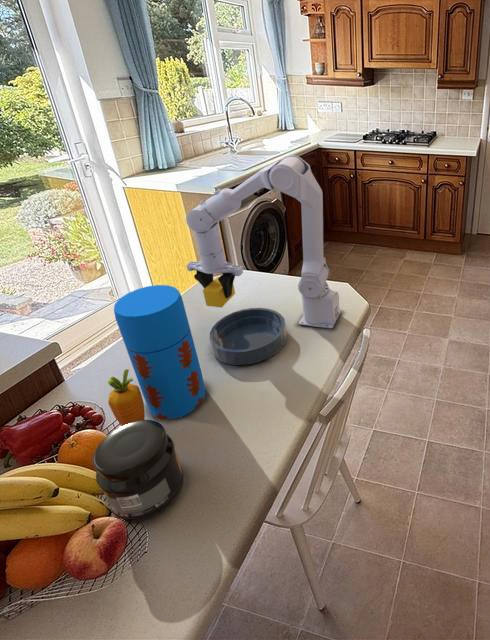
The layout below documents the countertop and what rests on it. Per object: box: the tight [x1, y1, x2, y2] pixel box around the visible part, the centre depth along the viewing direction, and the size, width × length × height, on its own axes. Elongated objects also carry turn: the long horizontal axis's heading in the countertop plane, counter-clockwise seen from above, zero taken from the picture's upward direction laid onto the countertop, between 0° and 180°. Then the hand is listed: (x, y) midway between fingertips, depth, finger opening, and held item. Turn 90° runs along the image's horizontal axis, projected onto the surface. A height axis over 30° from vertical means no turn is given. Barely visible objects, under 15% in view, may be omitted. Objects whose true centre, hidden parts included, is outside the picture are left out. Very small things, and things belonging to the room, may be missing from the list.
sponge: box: [202, 276, 236, 309], centre depth 109 cm, size 4×7×5 cm, turn 171°
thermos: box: [113, 284, 206, 421], centre depth 79 cm, size 11×11×25 cm
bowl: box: [209, 307, 288, 366], centre depth 101 cm, size 18×18×4 cm
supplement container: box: [92, 419, 184, 523], centre depth 65 cm, size 10×10×12 cm
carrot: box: [107, 368, 146, 426], centre depth 74 cm, size 5×5×15 cm
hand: (220, 295), depth 110 cm, fingers closed on sponge, 4 cm apart
